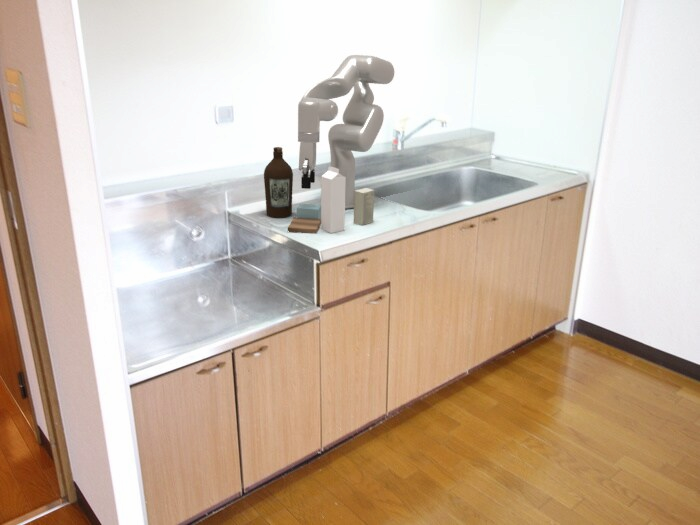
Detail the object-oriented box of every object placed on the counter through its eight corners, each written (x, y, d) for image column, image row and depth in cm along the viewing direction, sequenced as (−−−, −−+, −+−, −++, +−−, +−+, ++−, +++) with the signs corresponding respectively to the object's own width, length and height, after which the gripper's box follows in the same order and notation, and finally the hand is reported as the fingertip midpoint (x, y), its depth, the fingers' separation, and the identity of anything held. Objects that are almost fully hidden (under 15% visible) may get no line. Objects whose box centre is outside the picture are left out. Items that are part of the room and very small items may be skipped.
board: (293, 221, 223) (293, 217, 222) (321, 223, 222) (321, 219, 221) (287, 232, 211) (287, 227, 211) (316, 233, 211) (316, 229, 210)
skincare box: (365, 219, 227) (366, 187, 223) (373, 222, 224) (375, 189, 220) (352, 223, 223) (353, 190, 219) (361, 225, 220) (362, 192, 216)
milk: (330, 233, 211) (331, 170, 203) (320, 229, 216) (320, 166, 208) (345, 230, 215) (346, 168, 206) (334, 225, 219) (335, 164, 211)
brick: (300, 216, 229) (300, 203, 228) (321, 218, 228) (321, 205, 227) (296, 221, 224) (296, 208, 222) (318, 222, 223) (318, 209, 221)
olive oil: (263, 211, 234) (261, 145, 225) (291, 210, 237) (290, 144, 228) (266, 219, 225) (264, 150, 216) (295, 218, 227) (294, 150, 218)
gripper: (302, 133, 223) (301, 179, 229) (293, 140, 207) (293, 190, 213) (322, 134, 223) (321, 180, 229) (315, 141, 207) (315, 191, 213)
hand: (308, 185), depth 221 cm, fingers open, 9 cm apart
